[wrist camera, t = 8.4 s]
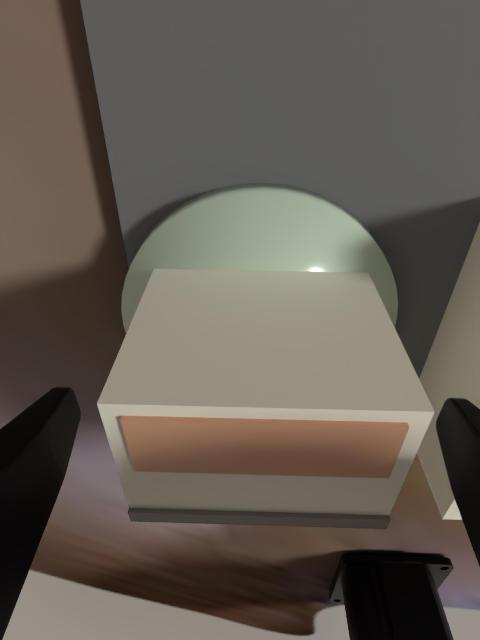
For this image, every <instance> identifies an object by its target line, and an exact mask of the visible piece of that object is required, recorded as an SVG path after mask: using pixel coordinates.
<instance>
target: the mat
mask: <svg viewBox="0 0 480 640" xmlns="http://www.w3.org/2000/svg"><path fill="white" fill-rule="evenodd" d="M80 3H81V8H82V14H83V19H84V25H85V30H86V36H87V42H88V47H89V53H90V58H91V64H92V69H93V75H94V81H95V86H96V92H97V97H98V103H99V108H100V114H101V120H102V125H103V131H104V136H105V142H106V147H107V153H108V159H109V164H110V170H111V175H112V181H113V186H114V192H115V197H116V203H117V209H118V214H119V220H120V225H121V231H122V236H123V242H124V248H125V253H126V259H127V264H128V270H129V268H130V265H131V263H132V261H133V260H134V258H135V256H136V254H137V252H138V250H139V249H140V247H141V245H142V243H143V242H144V240H145V238H146V237H147V236H148V235H149V233H150V232H151V231H152V230H153V228H154V227H155V226H156V225H157V224H158V223H159V222H160V221H161V220H162V219H163V218H164V217H165V216H167V215H168V214H169V213H170V212H171V211H173V210H174V209H176V208H177V207H179V206H180V205H182V204H183V203H185V202H187V201H189V200H191V199H193V198H195V197H197V196H199V195H201V194H203V193H206V192H209V191H213V190H216V189H219V188H222V187H227V186H232V185H238V184H246V183H273V184H284V185H289V186H293V187H298V188H302V189H306V190H308V191H311V192H314V193H316V194H319V195H322V196H324V197H326V198H328V199H329V200H331V201H333V202H335V203H337V204H339V205H340V206H342V207H343V208H344V209H346V210H347V211H348V212H350V213H351V214H352V215H354V216H355V217H356V218H357V219H358V220H359V221H360V222H361V223H362V224H363V225H364V226H365V227H366V228H367V229H368V231H369V232H370V234H371V235H372V237H373V238H374V239H375V241H376V242H377V244H378V245H379V247H380V249H381V251H382V252H383V254H384V256H385V258H386V260H387V262H388V264H389V266H390V268H391V270H392V273H393V277H394V280H395V283H396V288H397V297H398V311H397V320H396V324H395V329H396V332H397V334H398V336H399V338H400V340H401V342H402V344H403V346H404V348H405V350H406V353H407V355H408V357H409V359H410V361H411V363H412V365H413V367H414V369H415V372H416V374H417V376H418V378H420V375H421V373H422V370H423V368H424V365H425V362H426V360H427V357H428V355H429V352H430V350H431V347H432V344H433V342H434V339H435V337H436V334H437V331H438V329H439V326H440V324H441V321H442V318H443V316H444V313H445V311H446V308H447V305H448V303H449V300H450V298H451V295H452V293H453V290H454V287H455V285H456V282H457V280H458V277H459V274H460V272H461V269H462V267H463V264H464V261H465V259H466V256H467V254H468V251H469V248H470V246H471V243H472V241H473V238H474V236H475V233H476V230H477V228H478V225H479V223H480V0H80Z"/></svg>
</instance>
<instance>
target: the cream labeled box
mask: <svg viewBox="0 0 480 640" xmlns="http://www.w3.org/2000/svg"><path fill="white" fill-rule="evenodd" d="M419 380H420V382H421V384H422V386H423V388H424V390H425V393H426V395H427V397H428V399H429V401H430V403H431V405H432V407H433V409H434V411H435V412H434V415H433V417H432V419H431V422H430V424H429V426H428V428H427V431H426V433H425V435H424V437H423V440H422V442H421V444H420V447H419V449H418V451H417V455H418V457H419V460H420V463H421V465H422V468H423V470H424V473H425V475H426V478H427V481H428V483H429V486H430V488H431V491H432V494H433V496H434V499H435V501H436V504H437V507H438V509H439V512H440V514H441V517H442V519H454V520H462V517H461V515H460V512H459V509H458V507H457V504H456V501H455V498H454V495H453V493H452V490H451V486H450V482H449V479H448V475H447V471H446V467H445V463H444V459H443V455H442V451H441V447H440V443H439V439H438V435H437V431H436V420H437V417H438V415H439V413H440V411H441V409H442V407H443V404H444V402H445V401H446V400H447V399H448V398H465V399H467V400H469V401H470V402H471V403H473V404H474V405H475V406H477V407H478V408H479V409H480V223H479V225H478V228H477V230H476V233H475V236H474V238H473V241H472V243H471V246H470V248H469V251H468V254H467V256H466V259H465V261H464V264H463V267H462V269H461V272H460V274H459V277H458V280H457V282H456V285H455V287H454V290H453V293H452V295H451V298H450V300H449V303H448V305H447V308H446V311H445V313H444V316H443V318H442V321H441V324H440V326H439V329H438V331H437V334H436V337H435V339H434V342H433V344H432V347H431V350H430V352H429V355H428V357H427V360H426V362H425V365H424V368H423V370H422V373H421V375H420V378H419Z"/></svg>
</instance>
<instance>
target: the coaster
mask: <svg viewBox="0 0 480 640" xmlns="http://www.w3.org/2000/svg"><path fill="white" fill-rule="evenodd" d="M154 269H196V270H255V271H314V272H368V273H369V275H370V277H371V279H372V281H373V283H374V285H375V287H376V290H377V292H378V294H379V296H380V298H381V300H382V302H383V304H384V306H385V308H386V311H387V313H388V315H389V317H390V319H391V321H392V323H393V325H394V327H395V324H396V320H397V311H398V297H397V288H396V283H395V280H394V277H393V273H392V270H391V268H390V266H389V264H388V262H387V260H386V258H385V256H384V254H383V252H382V251H381V249H380V247H379V245H378V244H377V242H376V241H375V239H374V238H373V237H372V235H371V234H370V232H369V231H368V229H367V228H366V227H365V226H364V225H363V224H362V223H361V222H360V221H359V220H358V219H357V218H356V217H355V216H354V215H352V214H351V213H350V212H348V211H347V210H346V209H344V208H343V207H342V206H340V205H339V204H337V203H335V202H333V201H331V200H329V199H328V198H326V197H324V196H322V195H319V194H316V193H314V192H311V191H308V190H306V189H302V188H298V187H293V186H289V185H284V184H273V183H246V184H238V185H232V186H227V187H222V188H219V189H216V190H213V191H209V192H206V193H203V194H201V195H199V196H197V197H195V198H193V199H191V200H189V201H187V202H185V203H183V204H182V205H180V206H179V207H177V208H176V209H174V210H173V211H171V212H170V213H169V214H168V215H167V216H165V217H164V218H163V219H162V220H161V221H160V222H159V223H158V224H157V225H156V226H155V227H154V228H153V230H152V231H151V232H150V233H149V235H148V236H147V237H146V238H145V240H144V242H143V243H142V245H141V247H140V249H139V250H138V252H137V254H136V256H135V258H134V260H133V261H132V263H131V265H130V268H129V271H128V273H127V276H126V278H125V282H124V287H123V292H122V305H121V312H122V319H123V326H124V329H125V333H126V334H127V331H128V329H129V327H130V324H131V322H132V319H133V317H134V315H135V312H136V310H137V308H138V305H139V303H140V300H141V298H142V296H143V293H144V291H145V289H146V286H147V284H148V282H149V279H150V277H151V274H152V272H153V270H154Z"/></svg>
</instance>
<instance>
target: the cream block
mask: <svg viewBox="0 0 480 640" xmlns="http://www.w3.org/2000/svg"><path fill="white" fill-rule="evenodd" d="M97 406H98V409H99V412H100V416H101V419H102V422H103V425H104V428H105V432H106V435H107V438H108V441H109V445H110V448H111V451H112V454H113V457H114V461H115V464H116V467H117V470H118V474H119V477H120V480H121V483H122V486H123V490H124V493H125V496H126V499H127V503H128V506H129V510H128V514H129V518H130V521H138V522H171V523H204V524H237V525H270V526H303V527H336V528H368V529H387V527H388V525H389V522H390V517H389V515H390V512H391V510H392V508H393V506H394V503H395V501H396V499H397V496H398V494H399V492H400V490H401V487H402V485H403V483H404V481H405V478H406V476H407V474H408V471H409V469H410V467H411V465H412V462H413V460H414V458H415V456H416V453H417V451H418V449H419V447H420V444H421V442H422V440H423V437H424V435H425V433H426V431H427V428H428V426H429V424H430V422H431V419H432V417H433V415H434V412H435V411H434V409H433V407H432V405H431V403H430V401H429V399H428V397H427V395H426V393H425V390H424V388H423V386H422V384H421V382H420V380H419V378H418V376H417V374H416V372H415V369H414V367H413V365H412V363H411V361H410V359H409V357H408V355H407V353H406V350H405V348H404V346H403V344H402V342H401V340H400V338H399V336H398V334H397V332H396V329H395V327H394V325H393V323H392V321H391V319H390V317H389V315H388V313H387V311H386V308H385V306H384V304H383V302H382V300H381V298H380V296H379V294H378V292H377V290H376V287H375V285H374V283H373V281H372V279H371V277H370V275H369V273H368V272H314V271H255V270H196V269H154V270H153V272H152V274H151V277H150V279H149V282H148V284H147V286H146V289H145V291H144V293H143V296H142V298H141V300H140V303H139V305H138V308H137V310H136V312H135V315H134V317H133V319H132V322H131V324H130V327H129V329H128V331H127V334H126V336H125V338H124V341H123V343H122V345H121V348H120V350H119V353H118V355H117V357H116V360H115V362H114V364H113V367H112V369H111V372H110V374H109V376H108V379H107V381H106V383H105V386H104V388H103V390H102V393H101V395H100V398H99V400H98V402H97Z"/></svg>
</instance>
